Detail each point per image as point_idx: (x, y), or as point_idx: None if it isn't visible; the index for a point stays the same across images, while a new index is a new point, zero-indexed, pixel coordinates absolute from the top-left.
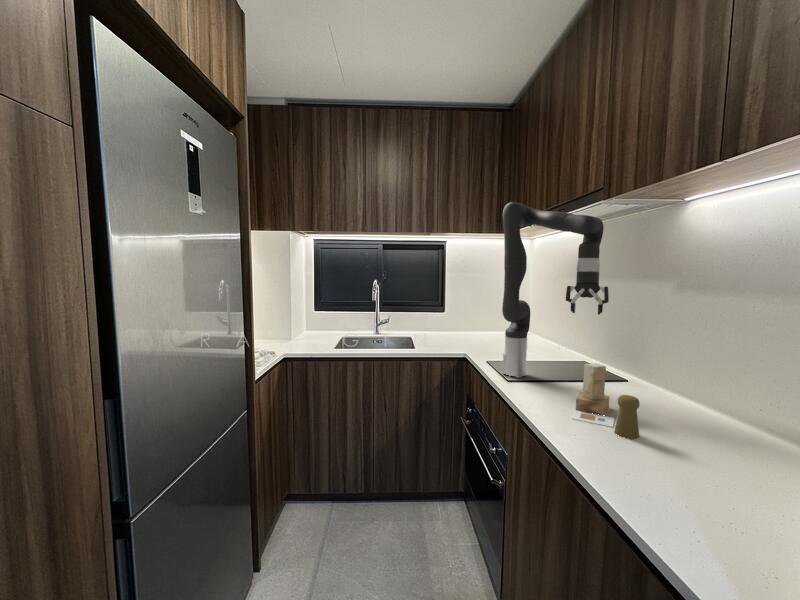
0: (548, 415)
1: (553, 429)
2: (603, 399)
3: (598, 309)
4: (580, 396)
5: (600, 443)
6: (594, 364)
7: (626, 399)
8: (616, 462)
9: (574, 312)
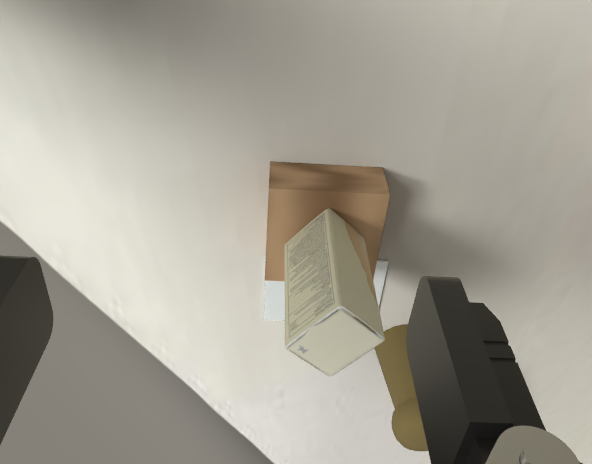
0: (195, 323)
1: (229, 389)
2: None
3: (427, 411)
4: (277, 252)
5: (337, 405)
6: (332, 343)
7: (414, 450)
8: (362, 451)
9: (48, 319)
